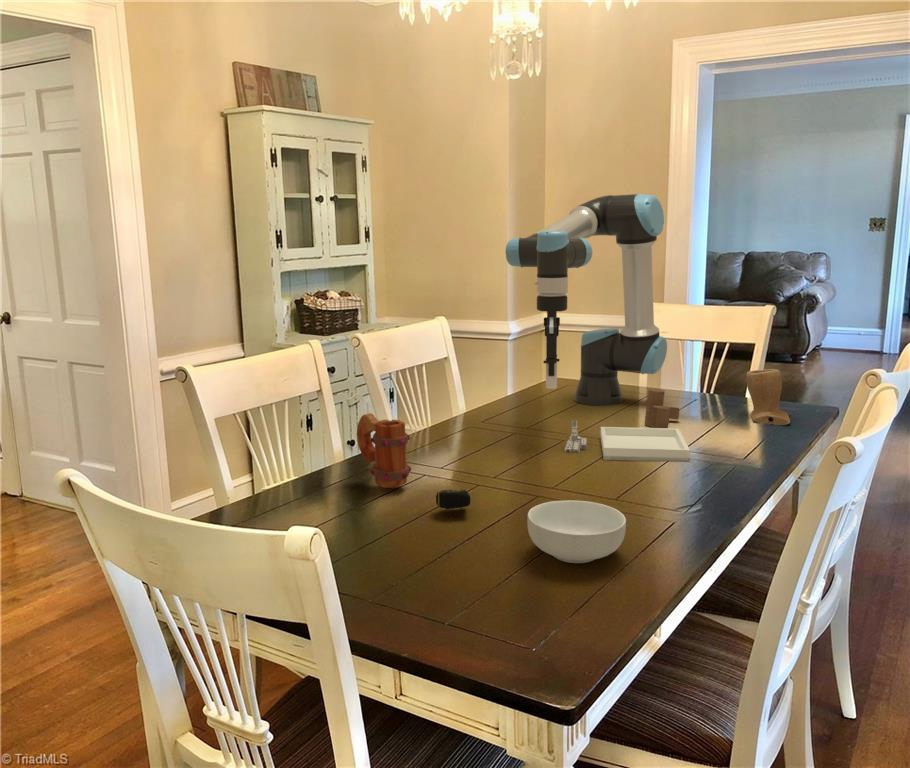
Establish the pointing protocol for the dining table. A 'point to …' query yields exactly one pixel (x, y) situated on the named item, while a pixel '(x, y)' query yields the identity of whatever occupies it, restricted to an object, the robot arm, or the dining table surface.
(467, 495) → the tape measure
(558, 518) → the cereal bowl
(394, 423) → the mug
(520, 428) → the dining table surface
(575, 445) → the house of cards
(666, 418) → the wooden block set
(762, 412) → the brown upright flared piece
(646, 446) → the tray
